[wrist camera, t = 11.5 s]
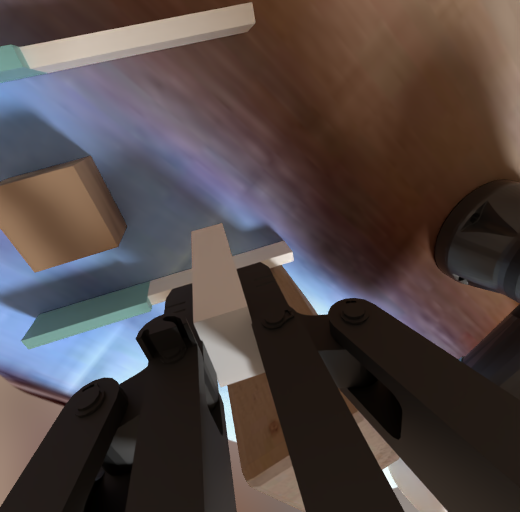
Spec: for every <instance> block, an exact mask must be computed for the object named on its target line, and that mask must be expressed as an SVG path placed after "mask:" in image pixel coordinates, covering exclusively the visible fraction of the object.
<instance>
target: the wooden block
mask: <svg viewBox="0 0 520 512" xmlns="http://www.w3.org/2000/svg"><path fill="white" fill-rule="evenodd" d="M270 270H271V272H272V274H273V276H274V278H275V280H276V282H277V284H278V285H279V287H280V289H281V291H282V293H283V295H284V297H285V299H286V301H287V303H288V305H289V306H290V307H292V308H293V309H294V310H295V311H296V312H298V313H300V314H304V315H318V314H317V313H316V311H315V310H314V308H313V307H312V305H311V304H310V302H309V301H308V300H307V298H306V297H305V296H304V294H303V293H302V292H301V290H300V289H299V288H298V286H297V285H296V284H295V282H294V281H293V280H292V278H291V277H290V276H289V274H288V273H287V272H286V270H285V269H284V268H283V266H282V265H279V266H276V267H273V268H270ZM227 386H228V392H229V398H230V404H231V410H232V415H233V421H234V427H235V433H236V439H237V445H238V450H239V457H240V462H241V468H242V473H243V475H244V477H245V479H246V481H247V483H248V484H249V486H250V487H252V488H254V489H256V490H258V491H260V492H262V493H264V494H267V495H269V496H271V497H273V498H275V499H277V500H280V501H282V502H284V503H286V504H288V505H290V506H292V507H295V508H297V509H299V510H301V511H303V512H306V511H305V507H304V504H303V500H302V497H301V494H300V490H299V487H298V483H297V480H296V476H295V473H294V470H293V466H292V463H291V459H290V456H289V452H288V449H287V445H286V442H285V439H284V435H283V432H282V428H281V425H280V421H279V418H278V415H277V411H276V408H275V404H274V401H273V397H272V394H271V391H270V387H269V384H268V380H267V377H266V373H262V374H259V375H256V376H253V377H250V378H247V379H244V380H241V381H238V382H235V383H232V384H229V385H227ZM338 389H339V388H338ZM339 391H340V389H339ZM340 393H341V395H342V397H343V399H344V400H345V402H346V404H347V406H348V408H349V410H350V412H351V413H352V415H353V417H354V419H355V421H356V423H357V425H358V426H359V428H360V430H361V432H362V434H363V436H364V438H365V439H366V441H367V443H368V445H369V447H370V449H371V451H372V452H373V454H374V456H375V458H376V460H377V462H378V464H379V466H380V467H381V469H384V468H386V467H387V466H389V465H390V464H392V463H394V462H395V461H397V460H398V459H399V458H400V457H399V456H398V455H397V454H396V453H395V451H394V450H393V449H392V448H391V447H390V446H389V445H388V444H387V442H386V441H385V440H384V439H383V438H382V437H381V436H380V435H379V433H378V432H377V431H376V430H375V429H374V428H373V427H372V426H371V424H370V423H369V422H368V421H367V420H366V419H365V418H364V417H363V415H362V414H361V413H360V412H359V411H358V410H357V409H356V408H355V406H354V405H353V404H352V403H351V402H350V401H349V400H348V399H347V397H346V396H345V395H344V394H343V393H342V392H341V391H340Z"/></svg>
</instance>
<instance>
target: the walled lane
mask: <svg viewBox="0 0 520 512" xmlns="http://www.w3.org/2000/svg"><path fill="white" fill-rule="evenodd" d="M254 24H255V17H254V10H253V4H252V2H250V3H245V4H240V5H234V6H229V7H224V8H219V9H214V10H209V11H203V12H198V13H193V14H188V15H183V16H178V17H173V18H167V19H162V20H157V21H152V22H147V23H142V24H136V25H131V26H126V27H121V28H116V29H111V30H105V31H100V32H95V33H90V34H85V35H80V36H75V37H69V38H64V39H59V40H54V41H49V42H44V43H38V44H33V45H28V46H23V47H17V46H15V45H12V44H11V45H6V46H0V83H3V82H8V81H13V80H18V79H22V78H27V77H32V76H37V75H42V74H47V73H52V72H56V71H61V70H66V69H71V68H76V67H81V66H85V65H90V64H95V63H100V62H105V61H110V60H115V59H119V58H124V57H129V56H134V55H139V54H144V53H148V52H153V51H158V50H163V49H168V48H173V47H177V46H182V45H187V44H192V43H197V42H202V41H207V40H211V39H216V38H221V37H226V36H231V35H236V34H240V33H245V32H248V31H249V30H250V29H251V27H252V26H253V25H254ZM232 257H233V260H234V263H235V267H236V269H238V268H241V267H245V266H248V265H251V264H255V263H258V262H262V263H263V264H265V265H267V266H268V267H269V268H273V267H276V266H279V265H282V264H286V263H289V262H292V261H294V258H293V252H292V251H291V249H290V248H289V247H288V245H287V244H286V243H285V241H281V242H278V243H274V244H271V245H268V246H264V247H261V248H258V249H254V250H251V251H248V252H244V253H241V254H238V255H235V256H232ZM191 283H192V268H191V269H188V270H185V271H181V272H178V273H175V274H171V275H168V276H165V277H162V278H158V279H155V280H152V281H148V282H145V283H142V284H138V285H135V286H132V287H128V288H125V289H122V290H118V291H115V292H112V293H108V294H105V295H102V296H98V297H95V298H92V299H88V300H85V301H82V302H79V303H75V304H72V305H69V306H65V307H62V308H59V309H55V310H52V311H49V312H45V313H42V314H39V315H38V317H37V318H36V320H35V321H34V323H33V324H32V326H31V327H30V329H29V330H28V331H27V333H26V334H25V336H24V337H23V339H22V340H21V341H22V343H23V344H24V345H25V346H26V347H27V348H28V349H32V348H35V347H38V346H41V345H44V344H48V343H51V342H54V341H57V340H60V339H64V338H67V337H70V336H73V335H76V334H80V333H83V332H86V331H89V330H92V329H95V328H99V327H102V326H105V325H108V324H111V323H115V322H118V321H121V320H124V319H127V318H130V317H134V316H137V315H140V314H143V313H146V312H150V311H151V309H152V305H154V304H157V303H160V302H164V301H166V298H167V296H168V295H169V293H170V292H171V290H172V289H174V288H177V287H180V286H184V285H187V284H191Z"/></svg>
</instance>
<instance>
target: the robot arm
mask: <svg viewBox="0 0 520 512" xmlns="http://www.w3.org/2000/svg"><path fill="white" fill-rule="evenodd" d="M191 245H192V283H191V284H187V285H184V286H180V287H177V288H174V289H172V290H171V292H170V293H169V295H168V296H167V298H166V302H165V310H164V314H163V315H161V316H158V317H156V318H154V319H153V320H151V321H150V322H148V323H147V324H145V326H144V327H143V328H142V329H141V330H140V331H139V333H138V335H137V337H136V340H137V342H138V344H139V345H140V347H141V349H142V350H143V352H144V354H145V355H146V357H147V359H148V361H149V362H148V366H147V367H146V368H145V369H144V370H142V371H141V372H139V373H138V374H136V375H135V376H133V377H131V378H129V379H128V380H126V381H124V382H123V383H121V384H118V382H117V381H115V380H114V379H113V378H101V379H98V380H94V381H92V382H91V383H89V384H87V385H85V386H84V387H82V388H81V389H80V390H79V391H78V392H76V393H75V394H74V395H73V396H72V397H71V399H70V400H69V401H68V402H67V404H66V405H65V406H64V408H63V409H62V411H61V413H60V414H59V416H58V417H57V419H56V421H55V422H54V424H53V425H52V427H51V428H50V430H49V432H48V433H47V435H46V436H45V438H44V439H43V441H42V442H41V444H40V446H39V447H38V449H37V451H36V452H35V453H34V455H33V457H32V458H31V460H30V462H29V463H28V465H27V466H26V468H25V469H24V471H23V472H22V474H21V475H20V477H19V479H18V480H17V482H16V483H15V485H14V486H13V488H12V490H11V491H10V493H9V494H8V496H7V497H6V499H5V501H4V502H3V504H2V505H1V507H0V512H237V511H236V503H235V495H234V487H233V479H232V470H231V462H230V454H229V447H228V438H227V430H226V421H225V413H224V405H223V401H222V399H221V396H220V394H219V391H218V382H219V384H220V387H223V386H226V385H229V384H232V383H235V382H238V381H241V380H244V379H247V378H250V377H253V376H256V375H259V374H262V373H266V377H267V380H268V384H269V387H270V391H271V394H272V397H273V401H274V404H275V408H276V411H277V415H278V418H279V421H280V425H281V428H282V432H283V435H284V439H285V442H286V445H287V449H288V452H289V456H290V459H291V463H292V466H293V470H294V473H295V476H296V480H297V483H298V487H299V490H300V494H301V497H302V500H303V504H304V507H305V511H306V512H404V510H403V508H402V506H401V505H400V503H399V501H398V499H397V497H396V495H395V493H394V492H393V490H392V488H391V486H390V484H389V482H388V480H387V479H386V477H385V475H384V473H383V471H382V469H381V467H380V466H379V464H378V462H377V460H376V458H375V456H374V454H373V452H372V451H371V449H370V447H369V445H368V443H367V441H366V439H365V438H364V436H363V434H362V432H361V430H360V428H359V426H358V425H357V423H356V421H355V419H354V417H353V415H352V413H351V412H350V410H349V408H348V406H347V404H346V402H345V400H344V399H343V397H342V395H341V393H340V391H341V392H342V393H343V394H344V395H345V396H346V397H347V399H348V400H349V401H350V402H351V403H352V404H353V405H354V406H355V408H356V409H357V410H358V411H359V412H360V413H361V414H362V415H363V417H364V418H365V419H366V420H367V421H368V422H369V423H370V424H371V426H372V427H373V428H374V429H375V430H376V431H377V432H378V433H379V435H380V436H381V437H382V438H383V439H384V440H385V441H386V442H387V444H388V445H389V446H390V447H391V448H392V449H393V450H394V451H395V453H396V454H397V455H398V456H399V457H400V458H401V459H402V460H403V462H404V463H405V464H406V465H407V466H408V467H409V468H410V469H411V471H412V472H413V473H414V474H415V475H416V476H417V477H418V479H419V480H420V481H421V482H422V483H423V484H424V485H425V486H426V488H427V489H428V490H429V491H430V492H431V493H432V494H433V495H434V497H435V498H436V499H437V500H438V501H439V502H440V503H441V504H442V506H443V507H444V508H445V509H446V510H447V511H448V512H520V304H519V305H518V306H517V307H516V308H515V309H514V310H513V311H512V312H511V314H509V315H508V316H507V317H506V318H505V319H504V320H503V321H502V322H501V323H500V324H499V325H498V326H497V327H496V328H494V329H493V330H492V331H491V332H490V333H489V334H488V335H487V336H486V337H485V338H484V339H483V340H482V341H481V342H480V343H479V344H478V345H477V346H476V347H475V348H474V349H473V350H471V351H470V352H469V353H468V354H467V355H466V356H464V357H463V356H462V357H461V358H460V359H459V360H458V359H457V358H455V357H454V356H452V355H451V354H449V353H448V352H446V351H444V350H443V349H441V348H440V347H438V346H437V345H435V344H434V343H432V342H431V341H429V340H428V339H426V338H425V337H423V336H422V335H420V334H419V333H417V332H416V331H414V330H413V329H411V328H409V327H408V326H406V325H405V324H403V323H402V322H400V321H399V320H397V319H396V318H394V317H393V316H391V315H390V314H388V313H387V312H385V311H384V310H382V309H381V308H379V307H378V306H376V305H374V304H373V303H371V302H369V301H366V300H363V299H357V298H350V299H344V300H341V301H338V302H336V303H335V304H334V305H332V306H331V308H330V310H329V312H328V315H304V314H300V313H298V312H296V311H295V310H294V309H293V308H292V307H290V306H289V305H288V303H287V301H286V299H285V297H284V295H283V293H282V291H281V289H280V287H279V285H278V284H277V282H276V280H275V278H274V276H273V274H272V272H271V270H270V268H269V267H268V266H267V265H265V264H263V263H262V262H258V263H255V264H251V265H248V266H245V267H241V268H238V269H236V267H235V263H234V260H233V257H232V253H231V250H230V247H229V244H228V240H227V237H226V234H225V230H224V227H223V224H222V223H220V224H217V225H213V226H209V227H206V228H202V229H199V230H195V231H191ZM435 260H436V263H437V266H438V268H439V269H440V270H441V271H442V272H443V273H444V274H446V275H447V276H449V277H450V278H452V279H454V280H455V281H457V282H460V283H463V284H466V285H471V286H474V287H478V288H482V289H485V290H489V291H493V292H497V293H501V294H504V295H506V296H508V297H510V298H511V299H513V300H515V301H516V302H518V303H520V182H516V181H511V180H497V181H493V182H490V183H487V184H485V185H483V186H481V187H479V188H478V189H476V190H474V191H473V192H472V193H470V194H469V195H468V196H466V197H465V198H464V199H463V200H462V201H461V202H460V203H459V204H458V205H457V206H456V207H455V208H454V210H453V211H452V212H451V213H450V215H449V216H448V218H447V219H446V221H445V222H444V224H443V226H442V228H441V230H440V232H439V235H438V238H437V241H436V246H435ZM217 380H218V382H217ZM338 388H339V389H340V391H339V389H338Z"/></svg>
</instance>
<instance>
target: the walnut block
mask: <svg viewBox="0 0 520 512" xmlns="http://www.w3.org/2000/svg"><path fill="white" fill-rule="evenodd" d="M126 228H127V225H126V223H125V221H124V219H123V217H122V215H121V213H120V211H119V209H118V207H117V205H116V203H115V201H114V200H113V198H112V196H111V194H110V192H109V190H108V188H107V186H106V184H105V182H104V180H103V178H102V176H101V174H100V172H99V170H98V169H97V167H96V165H95V163H94V161H93V159H92V157H91V156H88V157H84V158H81V159H77V160H73V161H70V162H66V163H62V164H59V165H55V166H51V167H48V168H44V169H40V170H37V171H33V172H29V173H26V174H22V175H18V176H15V177H11V178H8V179H5V180H3V181H1V182H0V229H1V230H2V231H3V232H4V234H5V235H6V236H7V238H8V239H9V240H10V241H11V243H12V244H13V245H14V247H15V248H16V249H17V250H18V252H19V253H20V254H21V256H22V257H23V258H24V259H25V261H26V262H27V263H28V265H29V266H30V267H31V268H32V270H33V271H34V272H38V271H41V270H45V269H48V268H51V267H54V266H58V265H61V264H64V263H67V262H71V261H74V260H77V259H80V258H84V257H87V256H90V255H93V254H97V253H100V252H103V251H106V250H110V249H113V248H116V247H118V246H119V244H120V242H121V239H122V237H123V235H124V233H125V230H126Z"/></svg>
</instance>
